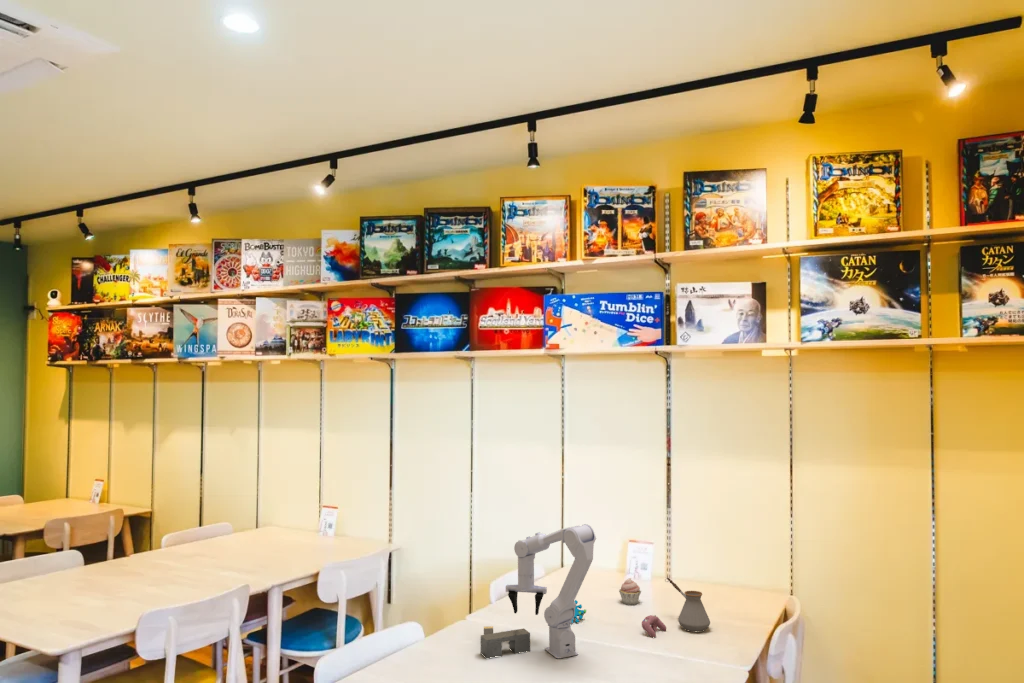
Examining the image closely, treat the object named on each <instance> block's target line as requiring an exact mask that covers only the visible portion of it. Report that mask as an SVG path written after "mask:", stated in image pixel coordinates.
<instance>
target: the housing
mask: <svg viewBox="0 0 1024 683" xmlns="http://www.w3.org/2000/svg"><path fill="white" fill-rule="evenodd" d="M504 642H509V643H508V645H509V646H508V648H510V649H511V650H512V651H513V652H514V653H513V652H512V651H511V650H510V649H509V650H510V651H511V652H512V653H513V654H515V653H518V654H520V653H519V652H524V653H527V652H526V651H529V652H531V632H529V631H528V630H526V628H518V629H511V630H505V631H499V632H493V633H492V634H486V635H484V634H482V635H480V654H481V653H482V654H483V655H484V656H485V657H486V658H489V659H491V658H490V657H495V656H501V657H502V656H503V643H504ZM482 654H481V655H482ZM483 655H482V656H483ZM484 656H483V657H484ZM485 657H484V658H485ZM486 658H485V659H486ZM495 658H496V657H495Z"/></svg>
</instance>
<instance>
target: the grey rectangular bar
mask: <svg viewBox="0 0 1024 683" xmlns="http://www.w3.org/2000/svg"><path fill="white" fill-rule="evenodd" d="M492 633H494V626H492V625H491V626H483V635H486V634H492Z"/></svg>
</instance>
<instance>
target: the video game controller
mask: <svg viewBox="0 0 1024 683" xmlns="http://www.w3.org/2000/svg"><path fill="white" fill-rule="evenodd" d="M641 627H642V629H643V631H645V632H646V633H647V635H648V636H650V637H651V638H653V637H655V638H656V637H657V633H656V632H657V631H658V629H659V630H661V631H662V630H664V631H663V632H666V631H667V626H666V625H665V624H664V622H662V620H661V619H660V617H658V616H657V615H656V614H654V615H653V614H652V615H647V616H645V617H644V618H643V620H642V621H641Z"/></svg>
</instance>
